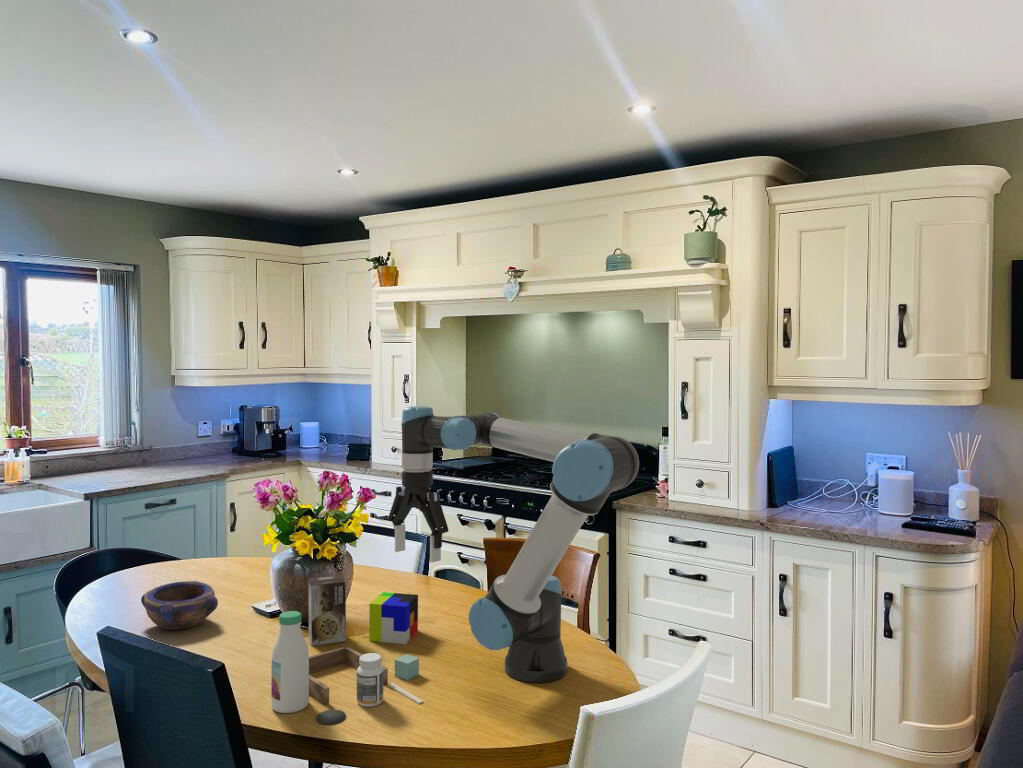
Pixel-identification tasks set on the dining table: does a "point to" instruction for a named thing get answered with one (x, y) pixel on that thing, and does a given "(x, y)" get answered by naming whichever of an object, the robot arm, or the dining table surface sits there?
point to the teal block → (406, 667)
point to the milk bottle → (290, 666)
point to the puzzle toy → (393, 618)
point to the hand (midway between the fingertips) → (417, 556)
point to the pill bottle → (370, 680)
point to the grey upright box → (327, 610)
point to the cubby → (328, 660)
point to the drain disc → (330, 717)
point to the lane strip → (405, 693)
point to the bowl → (179, 604)
